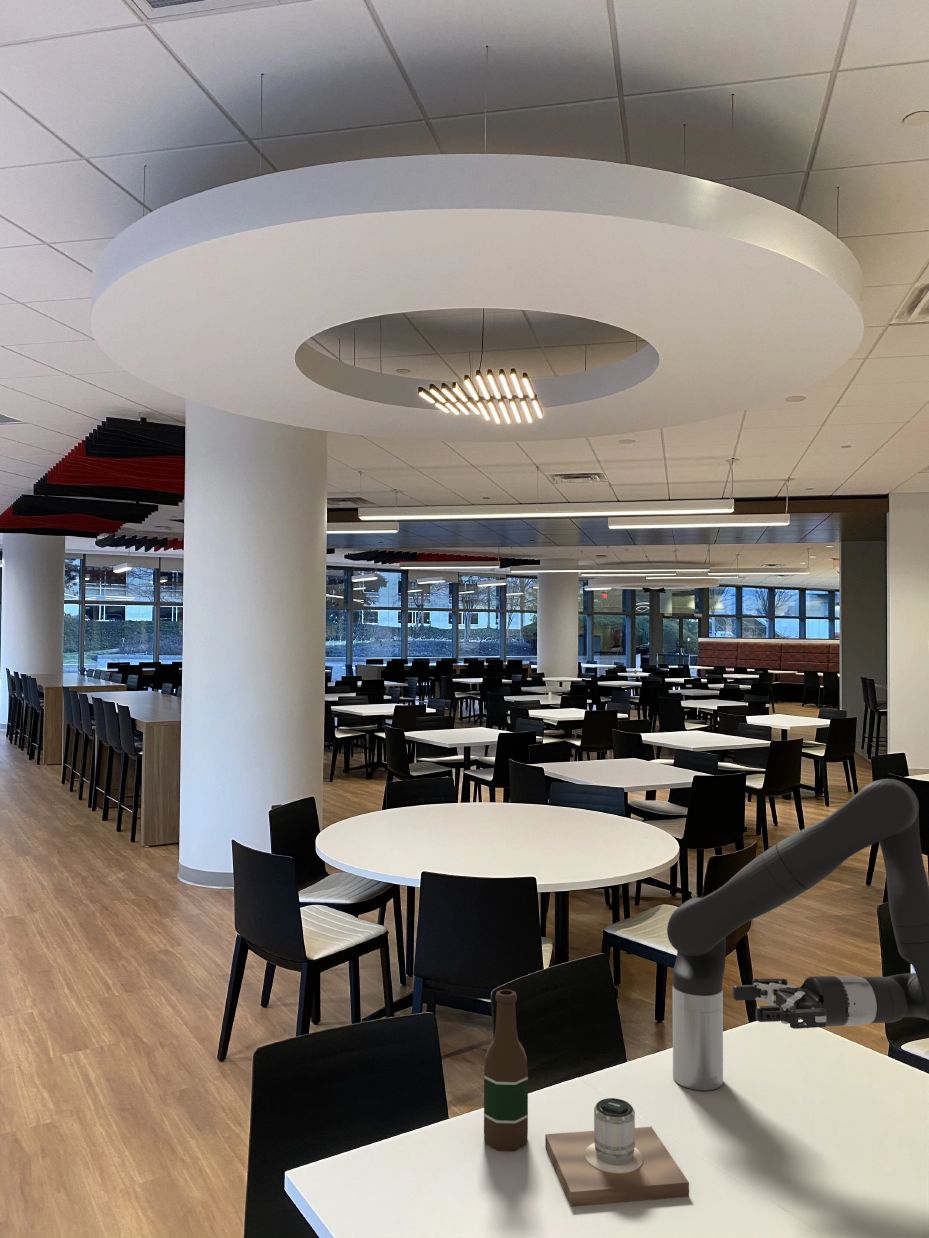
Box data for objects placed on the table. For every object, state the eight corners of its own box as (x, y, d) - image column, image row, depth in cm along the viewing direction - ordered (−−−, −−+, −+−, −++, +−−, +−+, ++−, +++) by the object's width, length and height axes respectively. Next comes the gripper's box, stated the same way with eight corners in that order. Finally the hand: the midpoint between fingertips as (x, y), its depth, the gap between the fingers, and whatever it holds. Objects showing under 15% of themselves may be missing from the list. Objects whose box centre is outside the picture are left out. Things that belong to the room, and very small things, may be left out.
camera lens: (602, 1140, 144) (601, 1090, 144) (640, 1151, 141) (640, 1100, 141) (588, 1160, 139) (588, 1108, 139) (627, 1171, 136) (627, 1118, 136)
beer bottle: (536, 1133, 150) (536, 987, 151) (519, 1157, 143) (519, 1004, 144) (493, 1123, 154) (493, 980, 155) (474, 1145, 147) (475, 996, 148)
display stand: (545, 1146, 146) (545, 1132, 146) (651, 1138, 149) (651, 1125, 149) (570, 1205, 131) (570, 1190, 131) (689, 1196, 133) (688, 1180, 133)
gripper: (816, 961, 154) (726, 963, 152) (864, 994, 140) (765, 996, 138) (815, 1006, 154) (725, 1008, 152) (863, 1043, 140) (764, 1046, 138)
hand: (744, 1003), depth 145 cm, fingers open, 8 cm apart
